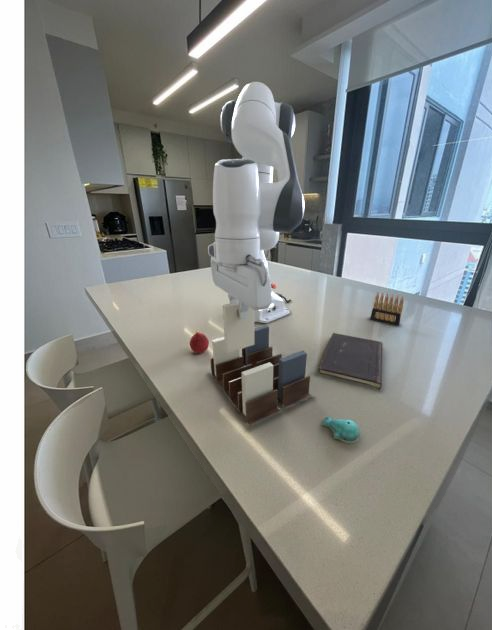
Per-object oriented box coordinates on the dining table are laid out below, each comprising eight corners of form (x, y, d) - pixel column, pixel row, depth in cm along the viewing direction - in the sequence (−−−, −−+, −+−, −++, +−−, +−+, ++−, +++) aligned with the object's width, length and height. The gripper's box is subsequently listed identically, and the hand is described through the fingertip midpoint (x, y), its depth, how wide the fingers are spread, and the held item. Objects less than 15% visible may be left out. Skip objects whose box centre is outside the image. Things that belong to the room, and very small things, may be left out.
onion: (213, 350, 84) (211, 328, 81) (203, 360, 79) (201, 336, 76) (197, 347, 86) (194, 325, 83) (187, 356, 81) (184, 333, 78)
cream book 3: (268, 401, 61) (269, 362, 57) (272, 405, 60) (273, 365, 56) (242, 412, 58) (241, 372, 54) (246, 417, 57) (244, 375, 53)
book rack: (263, 356, 81) (263, 339, 78) (311, 398, 64) (313, 378, 61) (210, 374, 72) (208, 356, 70) (249, 428, 55) (248, 406, 53)
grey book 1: (265, 357, 79) (266, 325, 74) (268, 360, 77) (269, 327, 73) (245, 364, 75) (244, 330, 71) (248, 367, 74) (247, 333, 70)
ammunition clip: (369, 319, 106) (375, 291, 102) (370, 318, 108) (376, 290, 103) (398, 326, 101) (405, 297, 96) (399, 324, 102) (406, 295, 97)
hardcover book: (318, 375, 72) (318, 368, 71) (332, 338, 92) (333, 332, 91) (380, 390, 66) (382, 383, 66) (381, 348, 86) (383, 341, 85)
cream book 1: (251, 342, 63) (251, 299, 58) (254, 344, 62) (254, 301, 57) (224, 349, 59) (222, 304, 55) (227, 352, 58) (225, 307, 54)
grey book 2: (300, 387, 66) (303, 350, 62) (303, 390, 65) (307, 353, 60) (277, 397, 63) (278, 358, 58) (281, 401, 62) (282, 361, 57)
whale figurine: (350, 452, 50) (353, 438, 48) (317, 432, 54) (318, 418, 53) (362, 434, 54) (365, 420, 52) (330, 416, 58) (332, 403, 57)
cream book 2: (237, 367, 74) (236, 333, 70) (240, 370, 73) (239, 335, 68) (214, 375, 71) (211, 339, 66) (217, 378, 69) (214, 342, 65)
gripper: (281, 259, 45) (278, 330, 51) (230, 244, 61) (232, 299, 67) (250, 263, 42) (250, 338, 48) (204, 245, 58) (208, 303, 64)
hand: (239, 315), depth 57 cm, fingers closed on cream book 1, 1 cm apart
